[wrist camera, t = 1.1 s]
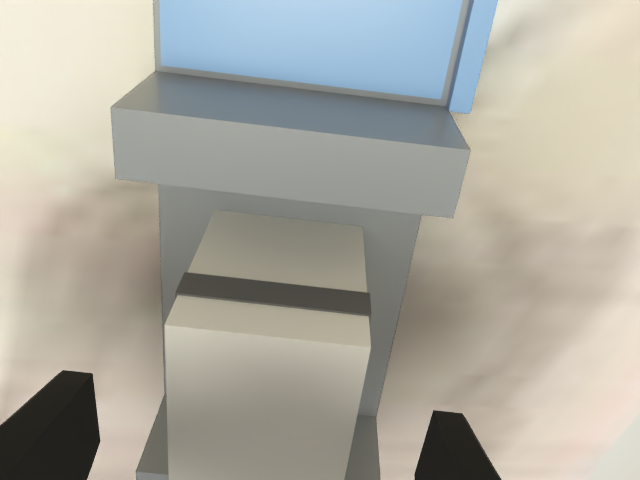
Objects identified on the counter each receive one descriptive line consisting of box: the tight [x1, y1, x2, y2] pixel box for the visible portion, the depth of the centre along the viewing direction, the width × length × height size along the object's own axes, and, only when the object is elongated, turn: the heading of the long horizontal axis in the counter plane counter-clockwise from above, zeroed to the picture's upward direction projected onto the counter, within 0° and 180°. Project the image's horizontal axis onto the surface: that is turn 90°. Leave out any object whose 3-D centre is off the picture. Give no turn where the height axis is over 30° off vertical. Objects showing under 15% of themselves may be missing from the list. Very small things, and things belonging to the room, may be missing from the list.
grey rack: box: [111, 0, 498, 480], centre depth 13 cm, size 22×8×4 cm, turn 174°
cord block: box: [164, 210, 372, 480], centre depth 14 cm, size 5×4×5 cm
